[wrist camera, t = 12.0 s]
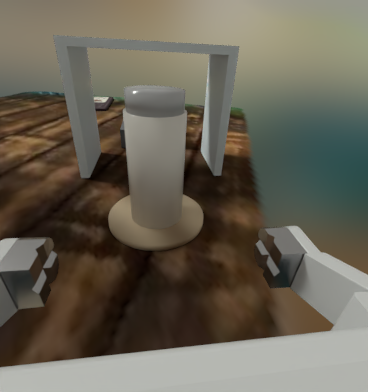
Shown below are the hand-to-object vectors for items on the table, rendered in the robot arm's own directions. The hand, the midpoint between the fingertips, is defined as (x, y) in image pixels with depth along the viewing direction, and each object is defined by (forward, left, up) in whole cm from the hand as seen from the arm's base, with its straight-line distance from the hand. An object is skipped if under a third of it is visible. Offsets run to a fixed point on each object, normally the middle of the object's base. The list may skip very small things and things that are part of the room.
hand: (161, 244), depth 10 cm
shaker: (+8, +9, -7) cm, 13 cm away
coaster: (+8, +9, -7) cm, 14 cm away
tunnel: (+16, +19, -7) cm, 26 cm away
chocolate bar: (+32, +63, -8) cm, 71 cm away
